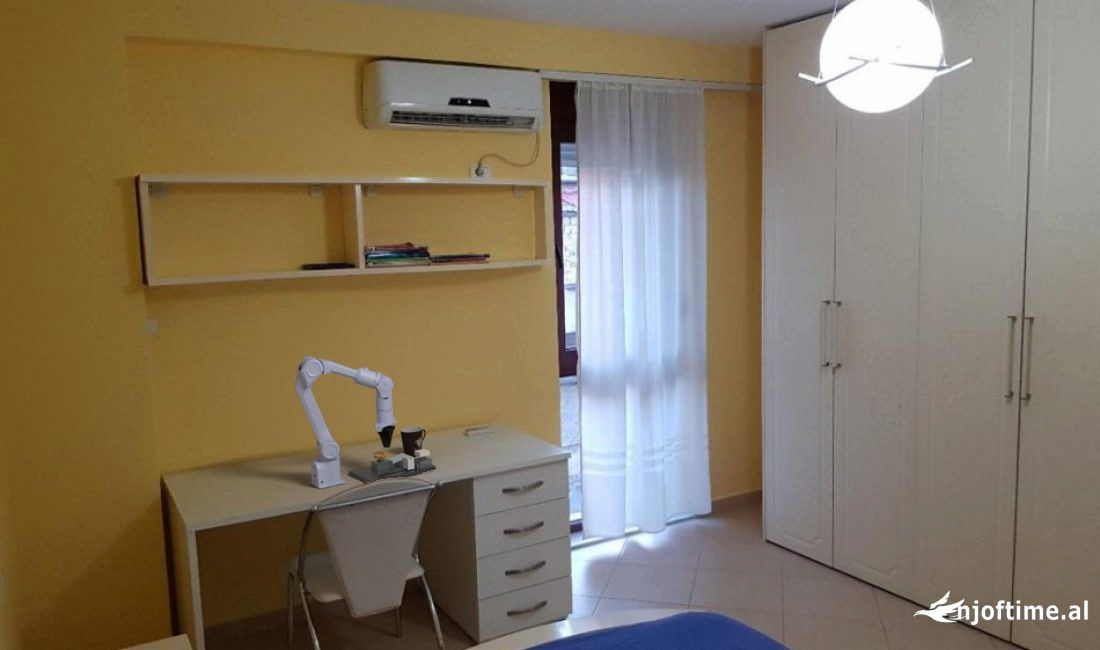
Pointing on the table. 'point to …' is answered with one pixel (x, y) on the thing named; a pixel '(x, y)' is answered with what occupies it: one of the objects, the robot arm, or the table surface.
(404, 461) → the slider knob
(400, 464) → the panel
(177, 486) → the table surface
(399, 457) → the rocker
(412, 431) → the coffee mug
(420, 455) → the square button
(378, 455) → the round button
